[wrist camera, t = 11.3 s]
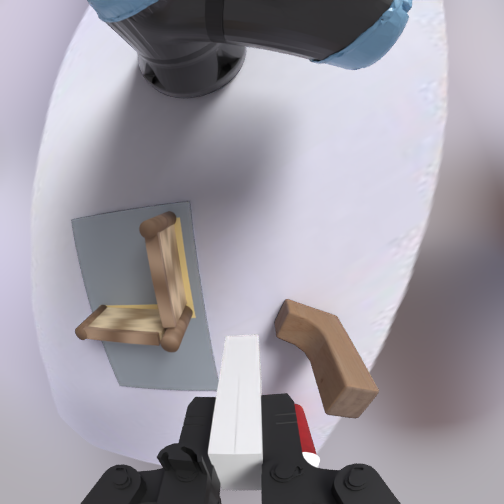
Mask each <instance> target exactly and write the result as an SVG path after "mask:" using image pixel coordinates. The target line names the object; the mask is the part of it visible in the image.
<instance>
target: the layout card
mask: <svg viewBox="0 0 504 504" xmlns="http://www.w3.org/2000/svg"><path fill="white" fill-rule="evenodd" d="M168 211H171V212H173V213H174V214H175V215H176V222H175V224H174V225H175V233H176V240H177V247H178V253H179V260H180V266H181V272H182V278H183V284H184V289H185V295H186V300H187V304H186V306H189V307H190V308H191V309H192V311H193V315H192V317H191V320H190V322H189V325H188V327H187V329H186V332H185V334H184V337H183V339H182V342H181V344H180V346H179V349H178V350H177V351H176V352H172V353H171V352H167V351H165V350H164V349H163V348H162V347H161V344H160V345H159V346H156V345H142V344H130V343H119V342H110V341H102V343H103V345H104V348H105V351H106V353H107V356H108V359H109V361H110V364H111V366H112V369H113V371H114V373H115V376H116V378H117V381H118V383H119V385H120V386H126V387H136V388H148V389H164V390H196V391H212V390H217V388H218V382H219V380H218V376H217V371H216V366H215V361H214V356H213V351H212V346H211V340H210V335H209V330H208V324H207V319H206V313H205V307H204V301H203V295H202V289H201V282H200V276H199V269H198V262H197V255H196V248H195V241H194V233H193V225H192V217H191V209H190V201H187V202H179V203H171V204H163V205H156V206H149V207H142V208H136V209H129V210H123V211H117V212H111V213H105V214H99V215H94V216H88V217H83V218H78V219H73V220H71V221H72V228H73V233H74V239H75V244H76V249H77V254H78V259H79V264H80V268H81V272H82V276H83V280H84V284H85V288H86V292H87V296H88V299H89V303H90V306H91V309H92V313H93V312H94V311H95V310H96V309H97V308H98V307H99V306H101V305H106V306H107V307H114V308H135V309H158V304H157V300H156V296H155V291H154V286H153V281H152V276H151V271H150V266H149V260H148V255H147V249H146V243H145V238H144V237H143V236H142V235H141V234H140V231H139V227H140V224H141V223H142V222H143V221H145V220H148V219H150V218H153V217H155V216H158V215H160V214H163V213H165V212H168Z"/></svg>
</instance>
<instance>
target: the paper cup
mask: <svg viewBox="0 0 504 504" xmlns="http://www.w3.org/2000/svg"><path fill="white" fill-rule="evenodd" d="M295 410H296V416H297V423H298V428H299V435H300V441H301V447H302V453H303V456H304V458H305V459H306V461H307V462H308V463H310V464H311V465H312V466H315V467H317V468H318V464H319V462H320V458H319V456H317V454H316V451H315V447H314V444H313V440H312V437H311V433H310V430H309V427H308V423H307V420H306V417H305V413H304V411H303V408H302V407H301V406H300V405H298V404H295Z"/></svg>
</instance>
